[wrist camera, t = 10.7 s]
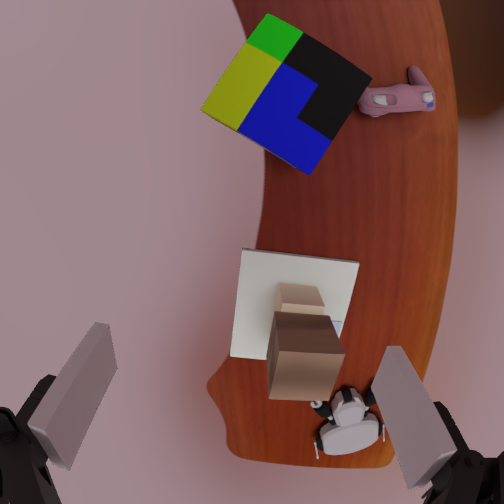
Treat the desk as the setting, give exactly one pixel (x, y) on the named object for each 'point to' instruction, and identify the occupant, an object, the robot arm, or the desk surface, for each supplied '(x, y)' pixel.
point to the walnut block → (302, 357)
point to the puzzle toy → (287, 93)
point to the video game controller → (399, 96)
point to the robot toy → (347, 423)
